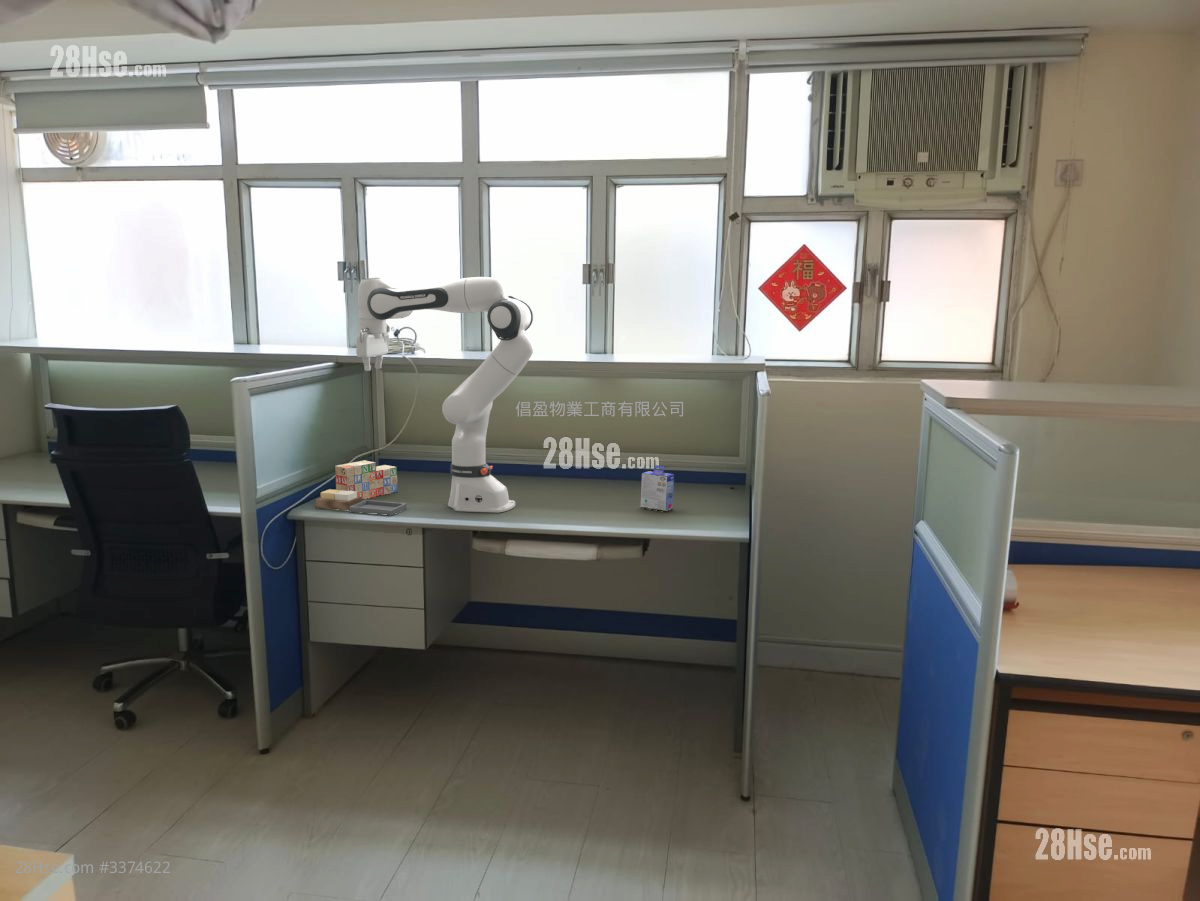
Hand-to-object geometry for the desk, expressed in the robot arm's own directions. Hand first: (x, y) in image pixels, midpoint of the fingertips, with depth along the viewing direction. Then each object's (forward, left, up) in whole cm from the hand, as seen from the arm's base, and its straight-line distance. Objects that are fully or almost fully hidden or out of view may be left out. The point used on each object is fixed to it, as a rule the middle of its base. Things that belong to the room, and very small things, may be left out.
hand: (373, 369), depth 271 cm
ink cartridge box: (-94, -18, -45) cm, 106 cm away
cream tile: (+3, +14, -41) cm, 44 cm away
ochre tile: (+8, +14, -41) cm, 45 cm away
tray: (-9, +14, -44) cm, 47 cm away
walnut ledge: (+6, +14, -44) cm, 47 cm away
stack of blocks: (+5, -2, -45) cm, 45 cm away
